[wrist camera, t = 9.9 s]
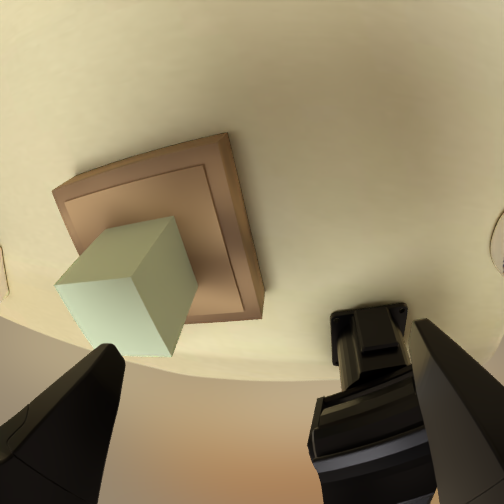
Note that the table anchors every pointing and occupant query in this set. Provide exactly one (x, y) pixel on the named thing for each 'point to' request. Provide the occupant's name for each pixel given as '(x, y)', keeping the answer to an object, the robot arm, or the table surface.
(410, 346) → the robot arm
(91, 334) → the sage block
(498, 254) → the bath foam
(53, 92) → the table surface
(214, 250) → the walnut base
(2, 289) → the medicine bottle
